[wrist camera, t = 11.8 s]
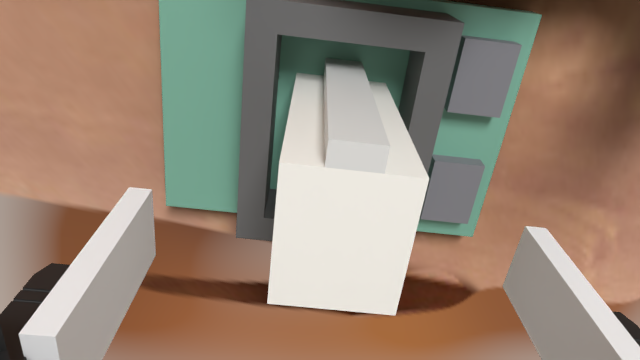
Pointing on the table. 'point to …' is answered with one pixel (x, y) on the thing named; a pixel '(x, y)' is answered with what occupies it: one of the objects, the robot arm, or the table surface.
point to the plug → (344, 195)
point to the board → (309, 58)
